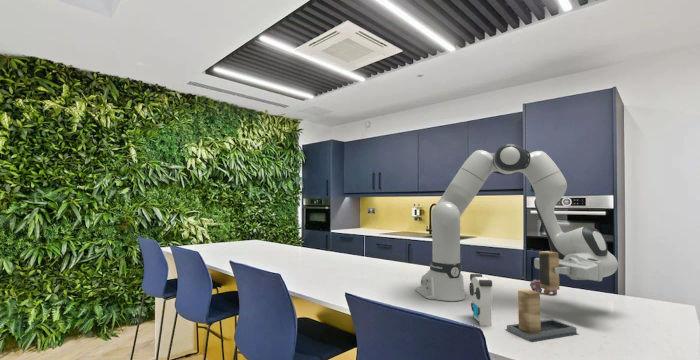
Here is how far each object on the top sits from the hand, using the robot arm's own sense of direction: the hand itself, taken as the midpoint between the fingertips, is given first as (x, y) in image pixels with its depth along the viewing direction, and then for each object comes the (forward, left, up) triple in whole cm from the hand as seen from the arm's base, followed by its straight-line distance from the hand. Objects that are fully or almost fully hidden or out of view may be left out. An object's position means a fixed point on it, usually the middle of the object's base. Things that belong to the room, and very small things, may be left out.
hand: (547, 268), depth 117 cm
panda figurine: (-4, -24, -17) cm, 29 cm away
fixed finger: (+9, -18, -16) cm, 25 cm away
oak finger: (0, +1, -6) cm, 7 cm away
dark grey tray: (+9, -13, -17) cm, 23 cm away
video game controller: (-27, +28, -17) cm, 43 cm away
